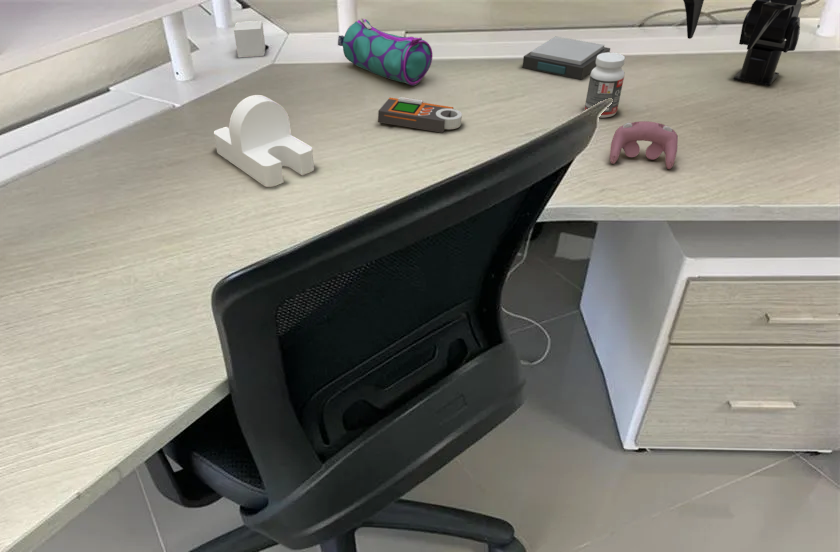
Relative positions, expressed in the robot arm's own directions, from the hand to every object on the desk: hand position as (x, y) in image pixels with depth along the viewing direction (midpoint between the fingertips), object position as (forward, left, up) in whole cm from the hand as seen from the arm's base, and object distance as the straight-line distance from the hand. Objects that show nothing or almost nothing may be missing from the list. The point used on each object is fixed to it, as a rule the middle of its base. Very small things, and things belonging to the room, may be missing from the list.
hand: (718, 43), depth 112 cm
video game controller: (+16, -3, -14) cm, 22 cm away
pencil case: (+7, -61, -14) cm, 63 cm away
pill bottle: (+2, -16, -14) cm, 22 cm away
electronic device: (+23, -41, -14) cm, 49 cm away
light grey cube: (+12, -96, -14) cm, 98 cm away
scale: (-17, -32, -14) cm, 39 cm away
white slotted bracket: (+50, -55, -14) cm, 76 cm away
